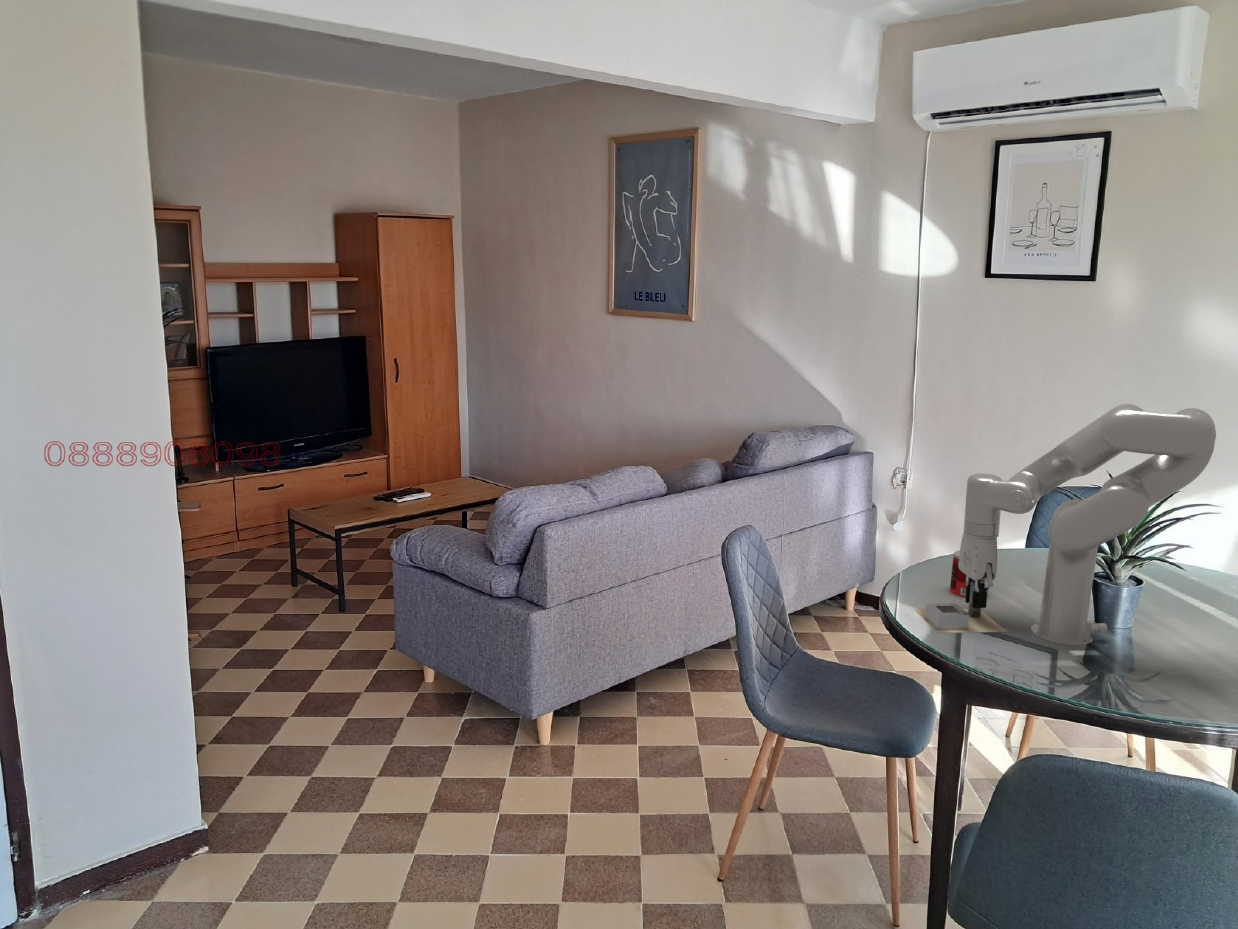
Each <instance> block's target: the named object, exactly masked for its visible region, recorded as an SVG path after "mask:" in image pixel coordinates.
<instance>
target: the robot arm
mask: <svg viewBox="0 0 1238 929" xmlns="http://www.w3.org/2000/svg"><path fill="white" fill-rule="evenodd" d="M1216 438H1217V430H1216V424H1215V422H1214V420H1213V418H1212V417H1211V415H1210V414H1209V413H1207V412H1206V411H1205V410H1202V409H1199V408H1196V407H1190V408H1188V407H1187V408H1184V409H1181V410H1179V411H1177V412H1176V413H1169V412H1168V413H1166V412H1165V413H1164V412H1154V411H1145V410H1143V408H1141V407H1139V406H1138V405H1135V404H1133V403H1132V404H1131V403H1123V404H1120V405H1117V406H1115V407H1113V408H1111V409H1110V410H1108V411H1107V412H1106V413H1104V414H1102V415H1101V416H1100V417H1098V418H1096V419H1094V421H1092V422H1090V423H1089V424H1087V425H1086V426H1084V427H1083V428H1081V429H1080V430H1078V431H1077V432H1076V433H1074V434H1072V435H1071V436H1070V437H1068V438H1066V439H1065V440H1063V441H1062V442H1060V443H1059V444H1057V445H1056V446H1055V447H1054V448H1053V449H1051V450H1050V451H1048V452H1047V453H1045V454H1044V455H1042V456H1040V457H1039V458H1037V459H1036V460H1035V461H1033V462H1032V463H1030V464H1028V465H1026V467H1024V468H1022V469H1021V470H1020V471H1018V472H1017V473H1015V474H1014V475H1013V476H1011V477H1010V478H1009V479H1008V480H1003V479H1002V478H1001V477H1000V476H998V475H996V474H989V473H974V474H971V475H969V477H968V478H967V481H966V482H967V483H966V491H965V492H966V493H965V494H966V495H965V508H964V509H965V510H964V522H963V533H962V536H961V541H960V548H959V551H960V554H959V564H958V567H959V569H960V570H961V571H962V572H963V573H964V574H965V576H966V585H967V586H966V597H964V598H965V603H966V604H969V597H970V587H971V580H975V591H973V598H972V607H973V608H981V609H986V608H987V604H988V603H987V602H988V593H989V591H990V590H989V589H990V588H993V587H994V580H995V579H996V577H997V570H998V538H999V536H1000V525H1001V524H1000V522H1001V513H1002V512H1006V513H1010V514H1016V515H1023V514H1027V513H1029V512H1031V511H1032V510H1033V509H1035V506H1036V504H1037V502H1038V500H1040V499H1041V498H1042V497H1044V496H1045V495H1047V494H1048V493H1050V492H1051V491H1054V489H1056V488H1058V487H1059V486H1062V484H1064V483H1066V482H1068V481H1070V480H1073V479H1075V478H1078V477H1083V476H1086V475H1089V474H1090V473H1092V472H1094V471H1095V470H1097V469H1099V468H1101V467H1102V466H1103V465H1105V464H1107V463H1108V462H1109V461H1111V460H1112V459H1113V458H1114V459H1115V458H1116V457H1117V456H1118V455H1120V454H1121V453H1123V452H1128V453H1138V454H1144V455H1152V456H1150V457H1148V458H1147V459H1145V460H1144V461H1142V462H1141V463H1139V464H1137V465H1135V466H1133V467H1132V468H1130V469H1128V470H1126V471H1124V472H1122V473H1120V474H1118V475H1116V476H1114V477H1112V478H1110V479H1108V480H1107V481H1105V482H1104V483H1103V484H1102V486H1101V487H1100V489H1099V491H1097V492H1096V493H1094V494H1092V495H1090V496H1088V497H1087V498H1085V499H1081V498H1073V499H1068V500H1066V501H1064V502H1063V503H1061V504H1060V505H1058V507H1057V508H1056V509H1055V511H1054V512H1053V515H1052V517H1051V520H1050V522H1049V526H1048V532H1047V533H1048V538H1049V547H1048V553H1047V559H1046V568H1045V573H1044V575H1045V576H1044V582H1043V588H1042V589H1043V590H1042V597H1041V599H1042V600H1041V603H1040V604H1041V605H1040V612H1039V620H1038V623H1037V622H1036V623H1034V624H1033V625H1031V626H1030V630H1031V632H1032V633H1033V634H1035V635H1036V636H1038V637H1040V638H1042V639H1044V640H1047V641H1050V642H1053V643H1058V644H1062V645H1063V644H1064V645H1075V646H1076V645H1085V644H1089V643H1093V636H1092V635H1091V634H1094V633H1096V632H1097V633H1107V632H1108V629H1109V628H1108V625H1107V623H1106V622H1105V623H1103V622H1101V623H1096V622H1095V620H1094V619H1093V620H1092V619H1091V620H1088V617H1089V612H1090V611H1089V610H1090V605H1091V604H1090V603H1091V595H1092V589H1093V584H1094V583H1093V582H1094V576H1095V571H1096V564H1097V563H1096V562H1097V555H1098V550H1099V546H1101V545H1102V544H1103V545H1104V544H1105V543H1107V542H1109V541H1111V540H1112V539H1115V538H1117V537H1118V536H1120V535H1122V534H1125V533H1126V532H1128V531H1130V530H1132V529H1133V528H1135V527H1136V526H1138V525H1139V524H1140V523H1141V522H1143V520H1144V519H1145V518H1146V516H1147V514H1148V513H1149V509H1150V508H1151V507H1152V506H1154V505H1156V504H1157V503H1159V502H1161V501H1163V500H1165V499H1166V498H1169V496H1171V495H1173V494H1174V493H1177V492H1178V491H1180V490H1183V489H1184V488H1186V486H1188V485H1190V484H1191V483H1192V482H1194V481H1195V480H1196V479H1197V478H1198V477H1199V476H1200V475H1201V474H1202V473H1203V471H1204V470H1205V469H1206V467H1207V466H1208V464H1209V462H1210V460H1211V458H1212V457H1213V453H1214V450H1215V443H1216ZM1001 511H1002V512H1001ZM983 576H985V578H983ZM980 582H984V583H981V584H980Z"/></svg>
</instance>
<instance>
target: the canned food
mask: <svg viewBox="0 0 1238 929" xmlns="http://www.w3.org/2000/svg"><path fill="white" fill-rule="evenodd" d="M959 554H960V550H956V551H954V553H953V558H952V566H951V574H950V576H951V577H950V584H949V585H950V586H949V593H951V594H953V595H955V596H958V597H962V598H966V586H967V585H966V576H965V574H964V573H963V572H962V571H961V570H960V569H959V567H958V564H959ZM983 578H985V576H983Z"/></svg>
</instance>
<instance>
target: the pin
mask: <svg viewBox="0 0 1238 929" xmlns="http://www.w3.org/2000/svg"><path fill="white" fill-rule="evenodd" d="M981 583H984V582H980V584H981ZM973 591H975V580H971V587H970V597H969V603H968V608H967V609H968V614H969V615H970V616H973V617H980V616H981V611H982V608H973V607H972V598H973Z"/></svg>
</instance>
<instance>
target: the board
mask: <svg viewBox="0 0 1238 929" xmlns="http://www.w3.org/2000/svg"><path fill="white" fill-rule="evenodd" d="M962 609H963V610H964V611H965V612H967V613H968V608H962ZM913 611H915V613H917V615H919V616H920V618H922V619H923V620H924V621H925V622H926V623H927V624H928V625H929V626H931V628H933V630H935V632H937V633H938V634H940V633H941V634H942V633H943V634H944V633H945V634H946V633H947V634H949V633H951V634H952V633H954V634H955V633H956V634H957V633H1008V631H1007V630H1006V629H1005V628H1003V627H1002V626H1001V625H1000V624H998V623H997V622H996V621H995V620H993V619H992V617H990V616H989V615H987V613H985V612H984V611H983V610H981V616H980V617H973V616H970V615H969V623H968V630H937V629H936V628H935V627H934V626H933V625H932V624H931V623H930V622H929V621H928V620H927V619H925V612H926V608H914V609H913Z"/></svg>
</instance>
